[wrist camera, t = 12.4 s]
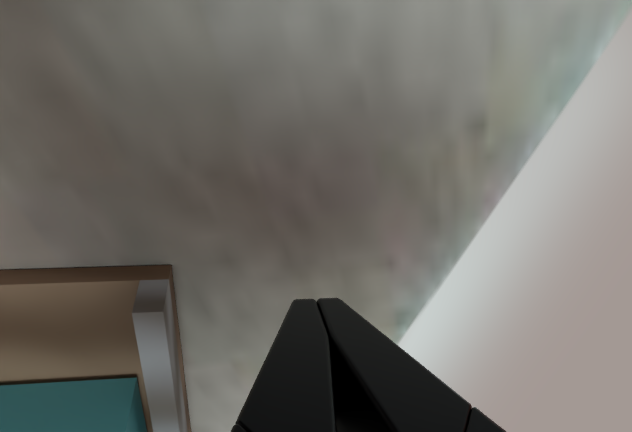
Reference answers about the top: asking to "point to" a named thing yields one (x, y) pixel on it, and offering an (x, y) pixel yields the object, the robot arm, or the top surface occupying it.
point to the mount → (97, 333)
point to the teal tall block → (72, 407)
